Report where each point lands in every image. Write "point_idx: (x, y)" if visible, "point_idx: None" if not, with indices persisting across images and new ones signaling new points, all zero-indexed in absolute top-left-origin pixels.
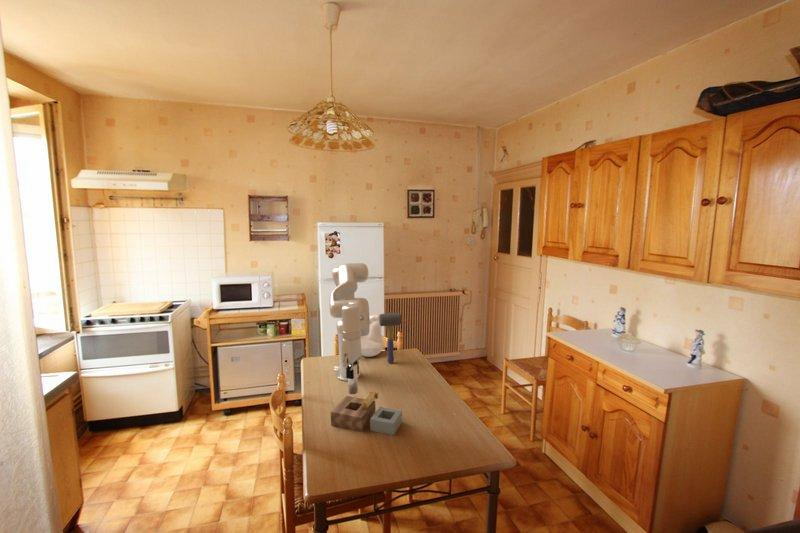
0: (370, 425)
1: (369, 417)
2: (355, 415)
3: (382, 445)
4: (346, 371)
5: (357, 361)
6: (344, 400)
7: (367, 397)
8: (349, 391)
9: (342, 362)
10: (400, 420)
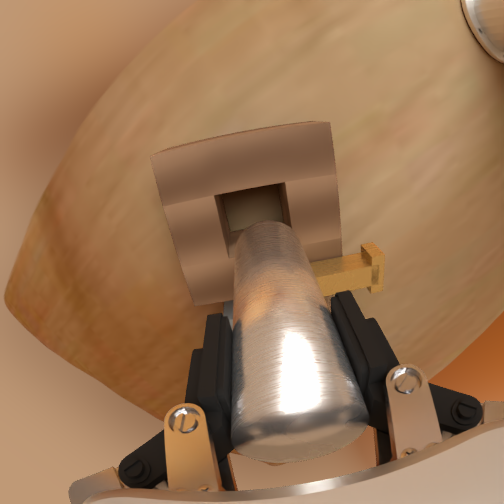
0: (224, 305)
1: None
2: (194, 277)
3: (186, 351)
4: (200, 374)
5: (376, 458)
6: (281, 141)
7: (318, 278)
8: (235, 253)
9: (100, 499)
10: None
